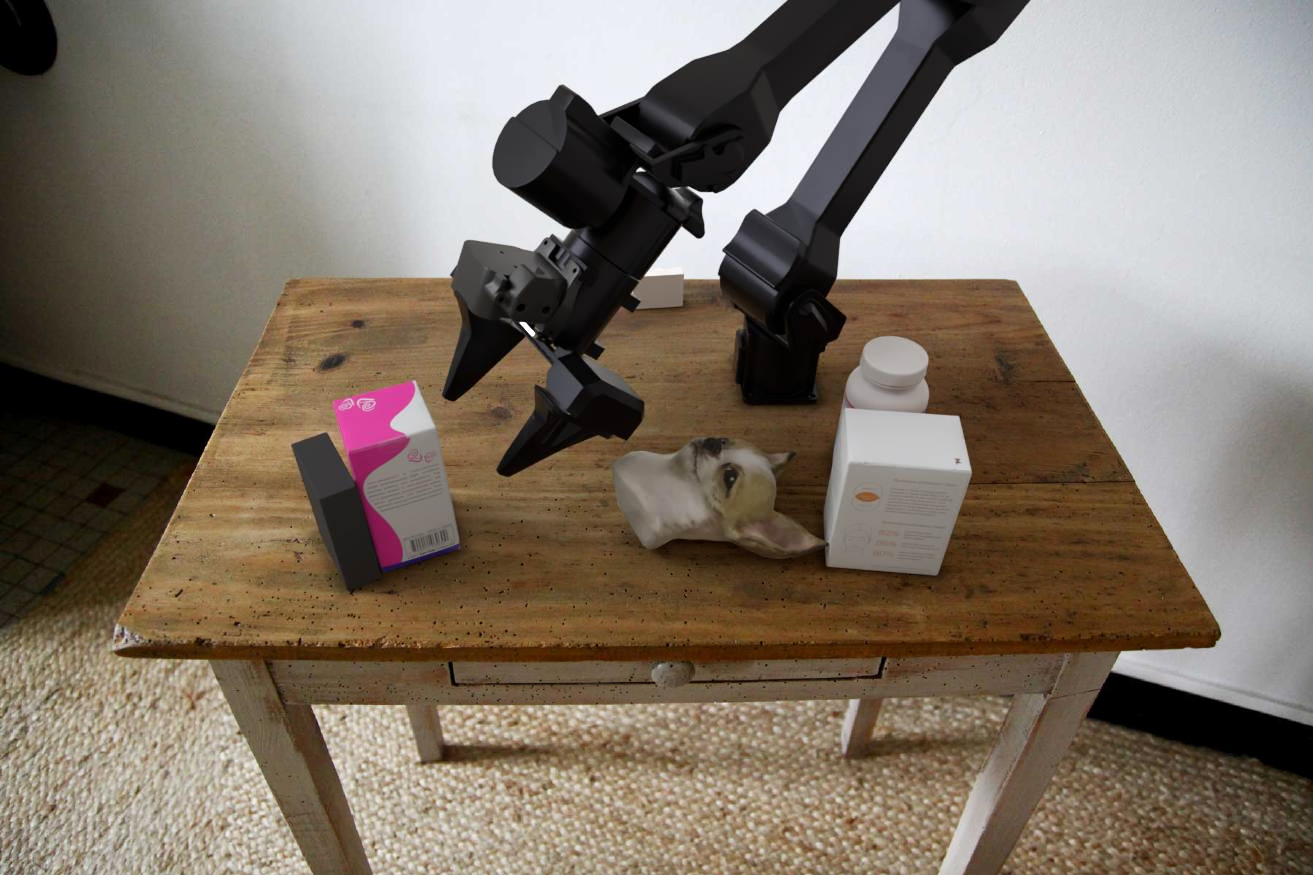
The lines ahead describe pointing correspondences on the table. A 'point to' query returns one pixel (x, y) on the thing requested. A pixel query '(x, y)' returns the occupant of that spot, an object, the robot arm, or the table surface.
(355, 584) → the black rubber pad
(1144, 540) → the table surface
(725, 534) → the ceramic sculpture
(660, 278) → the eraser
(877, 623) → the table surface
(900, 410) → the pill bottle
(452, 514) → the supplement box
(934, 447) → the small box
